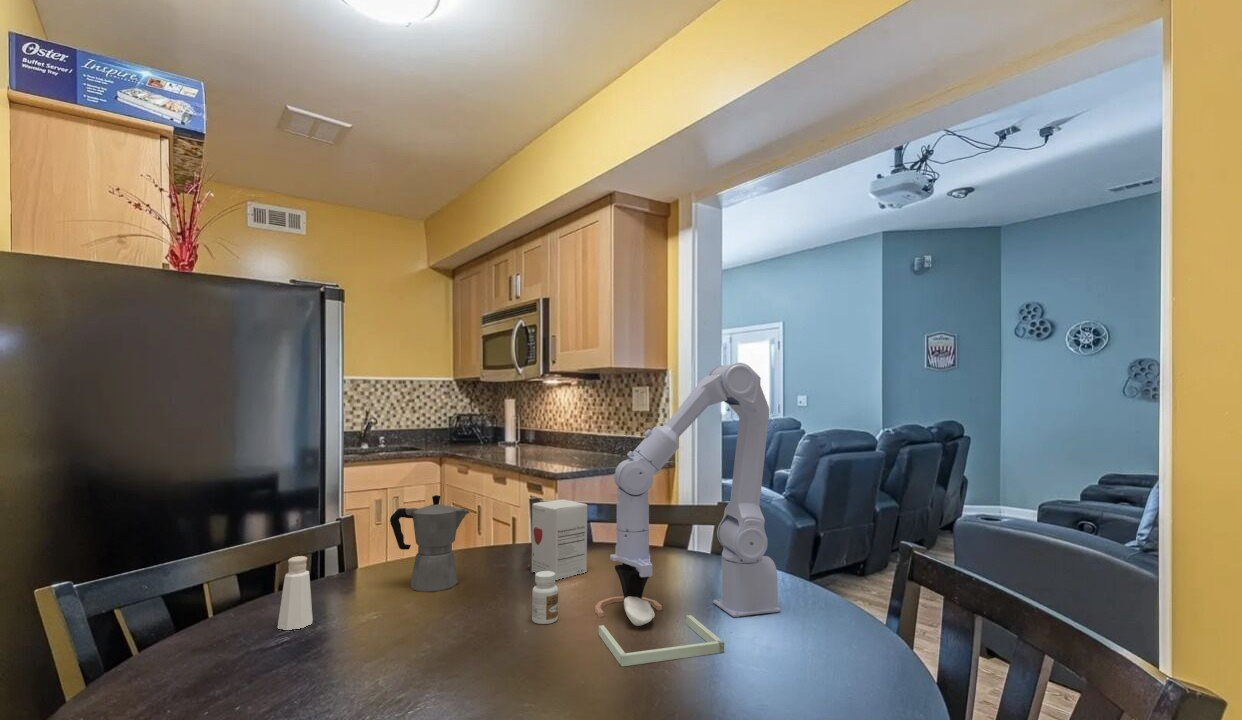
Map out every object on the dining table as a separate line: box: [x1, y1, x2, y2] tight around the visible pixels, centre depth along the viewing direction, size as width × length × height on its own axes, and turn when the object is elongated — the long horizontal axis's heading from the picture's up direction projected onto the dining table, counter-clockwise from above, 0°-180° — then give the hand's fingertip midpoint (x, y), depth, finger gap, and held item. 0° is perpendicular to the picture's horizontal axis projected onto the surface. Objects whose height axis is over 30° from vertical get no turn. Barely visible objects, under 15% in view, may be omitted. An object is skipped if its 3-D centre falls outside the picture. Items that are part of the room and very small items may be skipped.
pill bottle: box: [531, 571, 559, 625], centre depth 101 cm, size 4×4×8 cm
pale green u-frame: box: [598, 614, 725, 667], centre depth 91 cm, size 16×12×1 cm
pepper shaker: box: [276, 555, 313, 630], centre depth 99 cm, size 5×5×11 cm
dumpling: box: [623, 596, 655, 627], centre depth 99 cm, size 7×5×4 cm
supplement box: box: [531, 498, 588, 581], centre depth 130 cm, size 9×9×15 cm
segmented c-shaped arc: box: [594, 595, 663, 618], centre depth 108 cm, size 12×7×1 cm, turn 108°
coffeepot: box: [389, 495, 470, 593], centre depth 121 cm, size 15×9×18 cm, turn 102°
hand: (632, 608), depth 103 cm, fingers closed
